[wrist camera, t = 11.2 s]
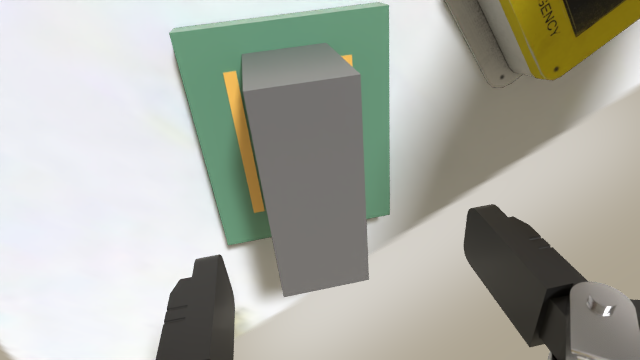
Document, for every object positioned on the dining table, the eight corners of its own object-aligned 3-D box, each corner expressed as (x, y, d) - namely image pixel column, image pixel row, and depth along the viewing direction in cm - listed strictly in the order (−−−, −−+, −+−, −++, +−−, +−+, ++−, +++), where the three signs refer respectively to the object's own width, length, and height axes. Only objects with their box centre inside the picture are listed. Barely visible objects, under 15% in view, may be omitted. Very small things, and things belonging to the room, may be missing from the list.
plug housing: (241, 54, 18) (242, 91, 13) (326, 42, 18) (360, 74, 13) (273, 221, 23) (283, 297, 18) (339, 209, 23) (368, 279, 18)
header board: (174, 27, 18) (154, 48, 14) (378, 2, 19) (419, 13, 15) (228, 230, 24) (226, 288, 20) (382, 201, 25) (411, 250, 21)
